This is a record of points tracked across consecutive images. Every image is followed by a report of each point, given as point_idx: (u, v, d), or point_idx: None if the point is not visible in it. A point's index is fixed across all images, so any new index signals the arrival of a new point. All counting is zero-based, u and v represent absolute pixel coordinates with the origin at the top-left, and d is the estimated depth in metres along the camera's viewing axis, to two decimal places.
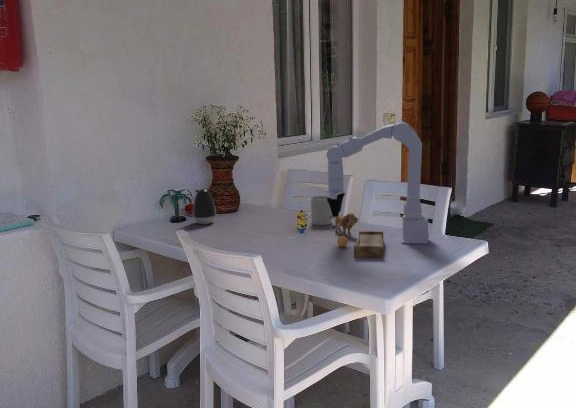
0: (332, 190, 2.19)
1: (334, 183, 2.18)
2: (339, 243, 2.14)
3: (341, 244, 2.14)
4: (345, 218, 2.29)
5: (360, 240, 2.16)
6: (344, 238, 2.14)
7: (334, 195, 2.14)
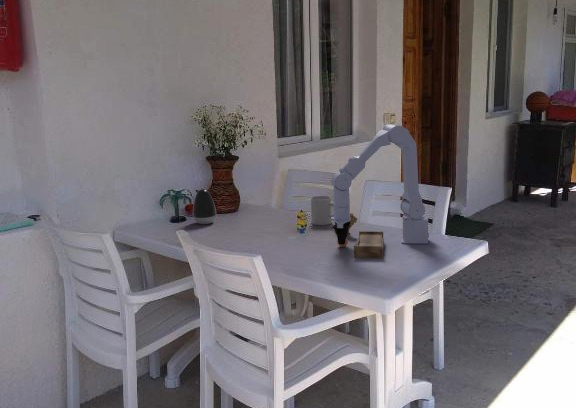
0: (338, 218, 2.11)
1: (340, 211, 2.10)
2: None
3: None
4: None
5: (360, 240, 2.16)
6: None
7: (340, 224, 2.07)
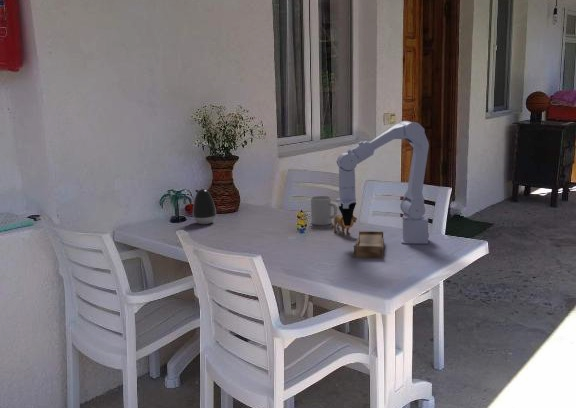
0: (344, 199, 2.10)
1: (346, 192, 2.09)
2: None
3: None
4: None
5: (360, 240, 2.16)
6: None
7: (346, 204, 2.06)
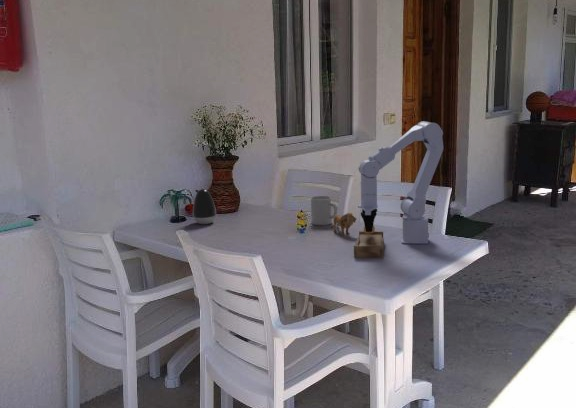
0: (365, 206, 2.12)
1: (368, 198, 2.11)
2: None
3: None
4: (343, 218, 2.29)
5: (360, 240, 2.16)
6: None
7: (368, 211, 2.08)
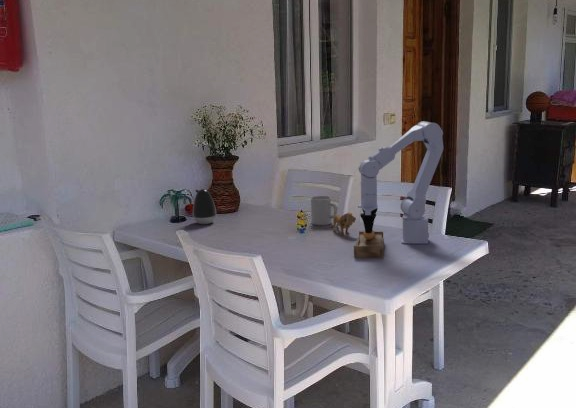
0: (365, 206, 2.12)
1: (368, 198, 2.11)
2: (366, 238, 2.15)
3: (368, 239, 2.15)
4: (343, 217, 2.29)
5: (360, 240, 2.16)
6: (371, 235, 2.13)
7: (368, 211, 2.08)
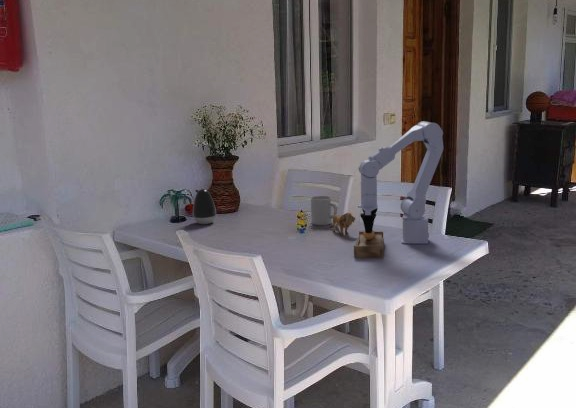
0: (365, 206, 2.12)
1: (368, 198, 2.11)
2: (366, 238, 2.15)
3: (368, 239, 2.15)
4: (342, 217, 2.30)
5: (360, 240, 2.16)
6: (371, 235, 2.13)
7: (368, 211, 2.08)
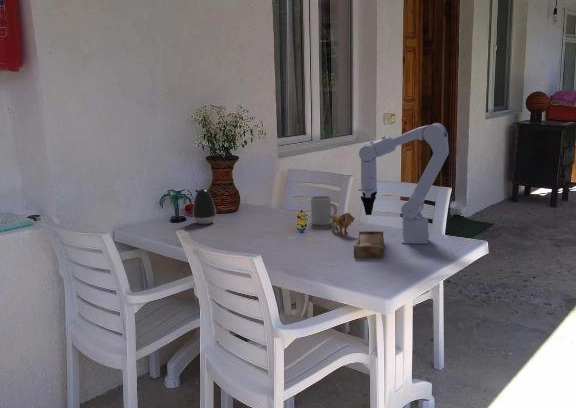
0: (365, 188, 2.20)
1: (368, 181, 2.19)
2: None
3: None
4: (341, 217, 2.30)
5: (360, 240, 2.16)
6: None
7: (368, 193, 2.15)
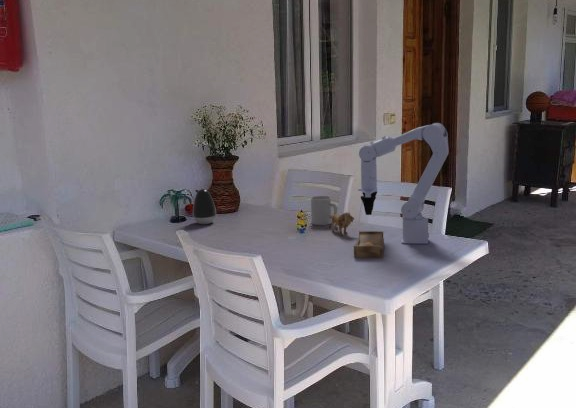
0: (365, 188, 2.20)
1: (368, 181, 2.19)
2: None
3: None
4: (341, 217, 2.30)
5: (360, 240, 2.16)
6: None
7: (368, 193, 2.16)
